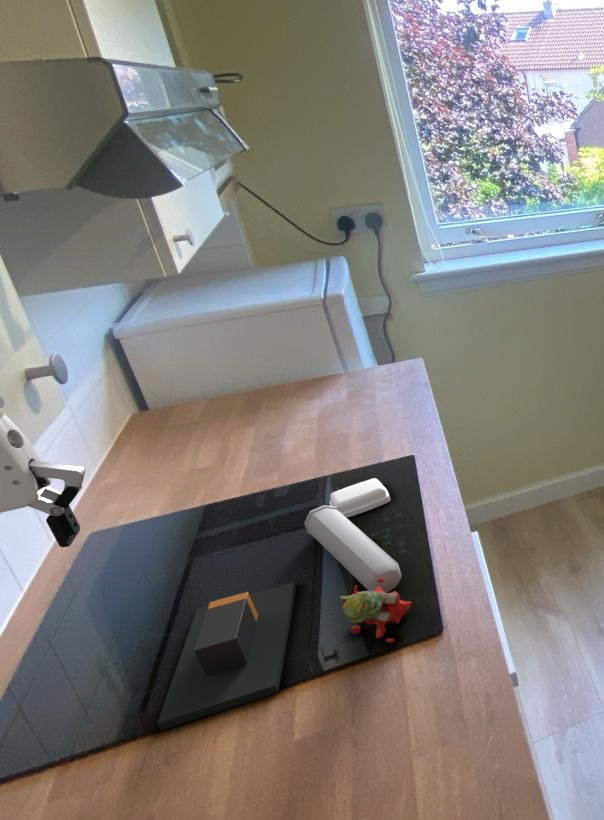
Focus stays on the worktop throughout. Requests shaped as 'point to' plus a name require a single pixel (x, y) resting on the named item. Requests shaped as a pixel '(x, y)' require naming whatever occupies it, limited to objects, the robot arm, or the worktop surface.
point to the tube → (353, 548)
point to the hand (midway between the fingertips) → (13, 553)
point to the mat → (237, 685)
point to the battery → (226, 634)
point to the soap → (359, 497)
